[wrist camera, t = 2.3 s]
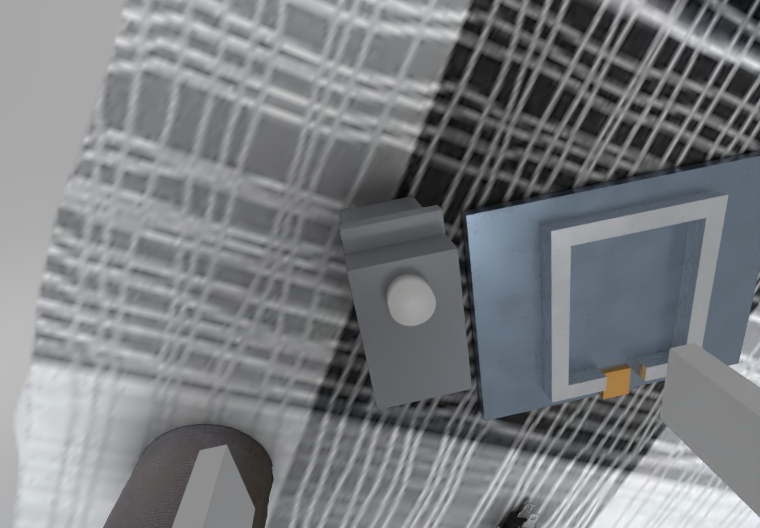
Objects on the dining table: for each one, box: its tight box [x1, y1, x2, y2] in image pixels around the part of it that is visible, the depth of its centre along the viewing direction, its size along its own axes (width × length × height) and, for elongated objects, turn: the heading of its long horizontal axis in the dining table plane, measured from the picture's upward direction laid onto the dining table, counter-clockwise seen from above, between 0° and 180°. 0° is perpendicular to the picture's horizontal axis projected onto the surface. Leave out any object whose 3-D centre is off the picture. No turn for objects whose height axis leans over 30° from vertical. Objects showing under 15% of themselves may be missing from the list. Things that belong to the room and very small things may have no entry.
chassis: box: [461, 151, 760, 421], centre depth 27 cm, size 20×16×2 cm
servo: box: [339, 196, 472, 410], centre depth 21 cm, size 4×9×10 cm, turn 10°
